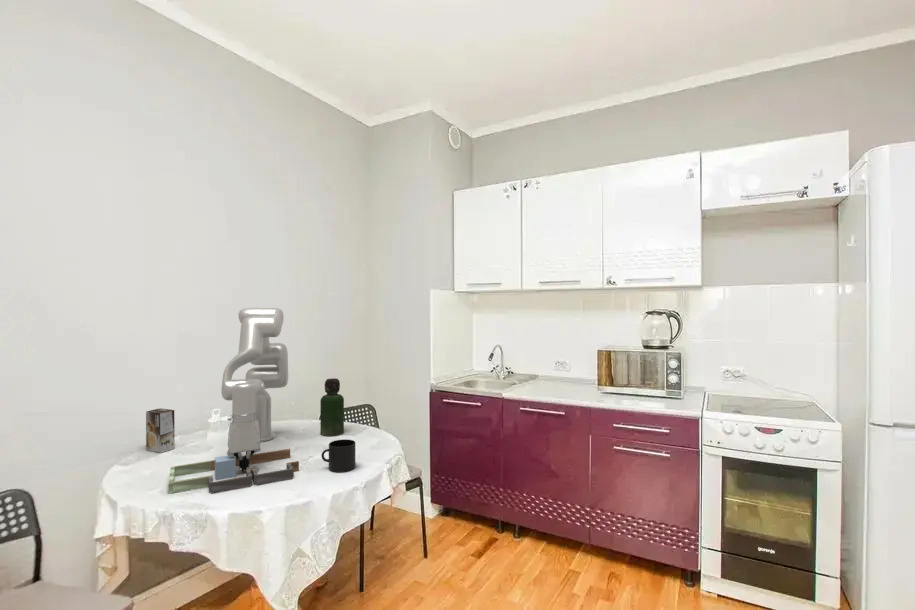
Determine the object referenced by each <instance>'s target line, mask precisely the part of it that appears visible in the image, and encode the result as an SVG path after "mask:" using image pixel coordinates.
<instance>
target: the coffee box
mask: <svg viewBox="0 0 915 610" xmlns="http://www.w3.org/2000/svg"><path fill="white" fill-rule="evenodd" d="M175 432H176V431H175V410H174V409H167V408H155V409H151V410H147V411H145V437H146V438H145V450H146V451H147V452H153V453H158V454H162V453H165V452H168V451H171V450H175V445H176V444H175V436H176V435H175Z"/></svg>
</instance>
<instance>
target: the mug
mask: <svg viewBox="0 0 915 610" xmlns="http://www.w3.org/2000/svg"><path fill="white" fill-rule="evenodd" d="M326 452H327V453H328V459H327V458H326V457H325V454H326ZM321 459H322V460H323V461H324V462H327V463H328V470H329V471H330V472H331V473H333V472H334V473H346V472H350V471H352V470H354V469H355V467H356V441H355V440H352V439H335V440H333V441H330V442H329V443H328V448H326V449H325V450H323V451H322V453H321Z"/></svg>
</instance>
